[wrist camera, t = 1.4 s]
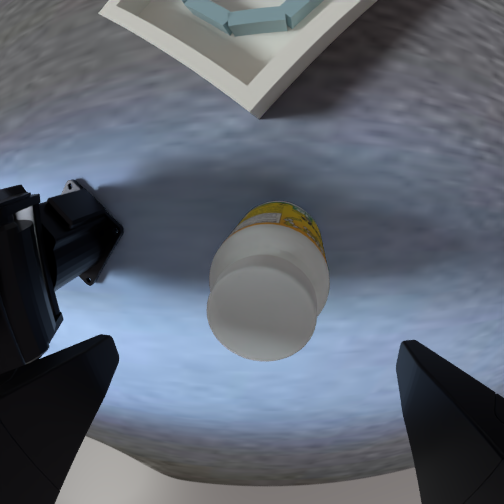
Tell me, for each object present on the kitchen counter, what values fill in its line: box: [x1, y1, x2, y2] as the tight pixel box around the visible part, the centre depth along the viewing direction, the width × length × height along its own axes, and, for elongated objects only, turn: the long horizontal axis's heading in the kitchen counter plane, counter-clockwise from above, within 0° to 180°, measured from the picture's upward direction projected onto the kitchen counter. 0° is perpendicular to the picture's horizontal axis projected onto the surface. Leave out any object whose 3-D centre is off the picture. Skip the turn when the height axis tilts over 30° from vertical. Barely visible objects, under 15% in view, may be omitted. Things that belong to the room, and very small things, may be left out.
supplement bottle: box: [207, 201, 330, 361], centre depth 15 cm, size 5×5×10 cm
